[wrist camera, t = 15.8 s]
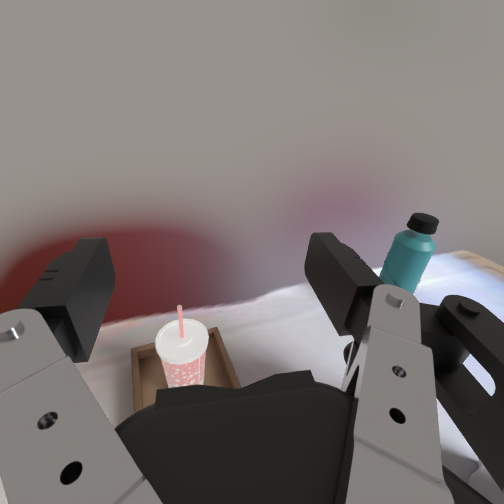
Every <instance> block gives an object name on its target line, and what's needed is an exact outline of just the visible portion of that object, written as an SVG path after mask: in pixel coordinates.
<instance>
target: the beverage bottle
mask: <svg viewBox="0 0 504 504" xmlns="http://www.w3.org/2000/svg"><path fill="white" fill-rule="evenodd" d="M438 223H439V220H438V219H437V218H435V217H433V216H431V215H428V214H424V213H414V214H413V215H412V216H411V218H410V220H409V221H408V223H407V227H408V228H410V229H411V230H406V231H402V232H400V233H398V234H396V235H395V237H394V241H393V243H392V246H391V248H390V251H389V252H388V255H387V258H386V260H385V261H384V262H385V263H384V265H383V268H382V270H381V273H380V275H379V278H380V279H381V280H382V281H383V283H384V284H389V285H394V286H398V287H400V288H403V289H405V290H407V291H408V292H410V293H411V294H414V293H415V291H414V290H416V289H415V288H417V287H416V286H418V285H417V284H419V283H420V281H419V280H420V278H421V276H422V274H423V272H424V270H425V268H426V266H427V264H428V262H429V260H430V258H431V256H432V254H433V252H434V251H435V249H436V245H435V244H434V242H433V240H432V239H431V237H430V236H428V235H431V234H434V233H435V232H436V229H437V226H438ZM427 234H428V235H427ZM418 282H419V283H418ZM413 292H414V293H413Z"/></svg>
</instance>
